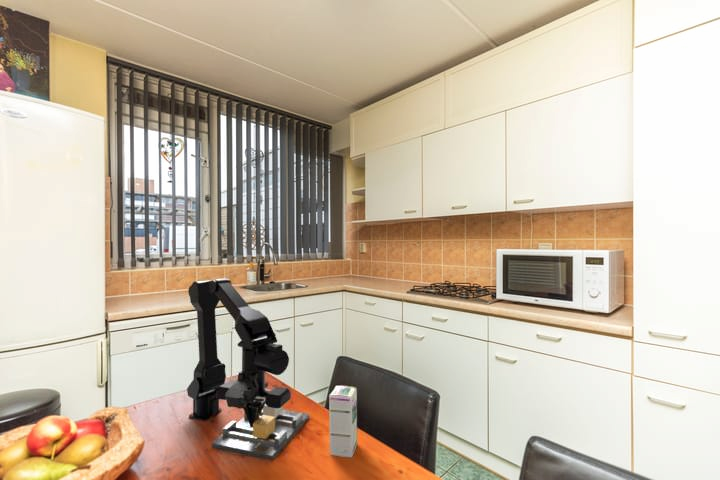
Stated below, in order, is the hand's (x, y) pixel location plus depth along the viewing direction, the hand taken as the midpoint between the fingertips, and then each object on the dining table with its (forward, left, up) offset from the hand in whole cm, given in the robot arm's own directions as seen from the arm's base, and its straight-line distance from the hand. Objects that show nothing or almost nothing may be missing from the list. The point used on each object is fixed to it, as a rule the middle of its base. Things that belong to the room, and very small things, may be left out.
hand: (253, 426), depth 84 cm
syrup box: (+23, +4, -4) cm, 24 cm away
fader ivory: (0, +9, -2) cm, 9 cm away
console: (0, +5, -4) cm, 6 cm away
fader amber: (+3, 0, -2) cm, 4 cm away
